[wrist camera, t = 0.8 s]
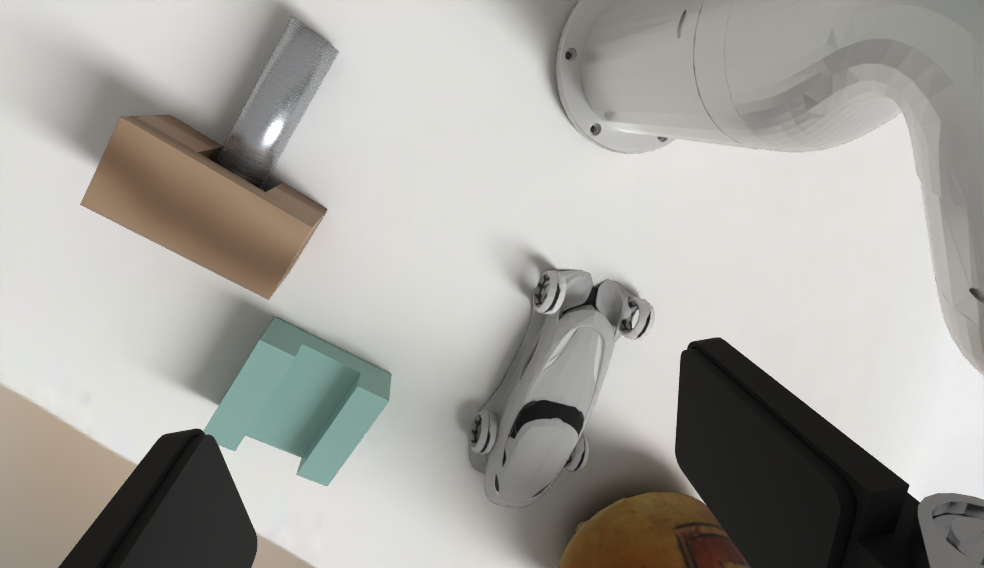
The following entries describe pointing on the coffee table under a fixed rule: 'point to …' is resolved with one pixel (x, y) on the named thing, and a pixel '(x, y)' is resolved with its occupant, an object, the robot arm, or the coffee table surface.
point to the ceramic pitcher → (652, 536)
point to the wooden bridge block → (200, 203)
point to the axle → (277, 103)
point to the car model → (552, 385)
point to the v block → (302, 400)
